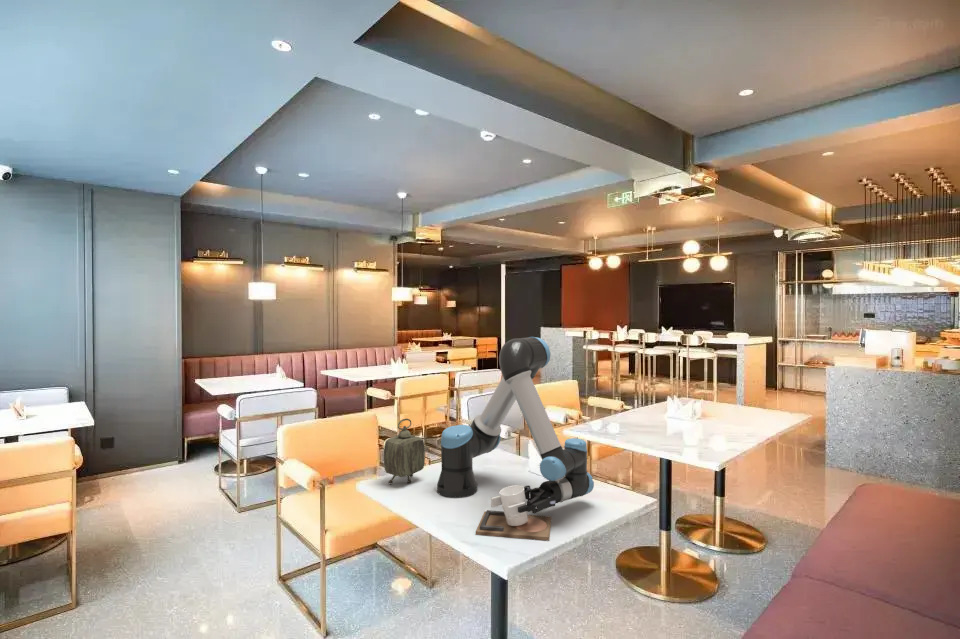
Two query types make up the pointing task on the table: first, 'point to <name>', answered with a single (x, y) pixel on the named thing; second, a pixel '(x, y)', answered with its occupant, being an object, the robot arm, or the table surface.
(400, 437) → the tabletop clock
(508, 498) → the white cup
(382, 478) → the table surface
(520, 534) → the walnut board
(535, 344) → the robot arm
